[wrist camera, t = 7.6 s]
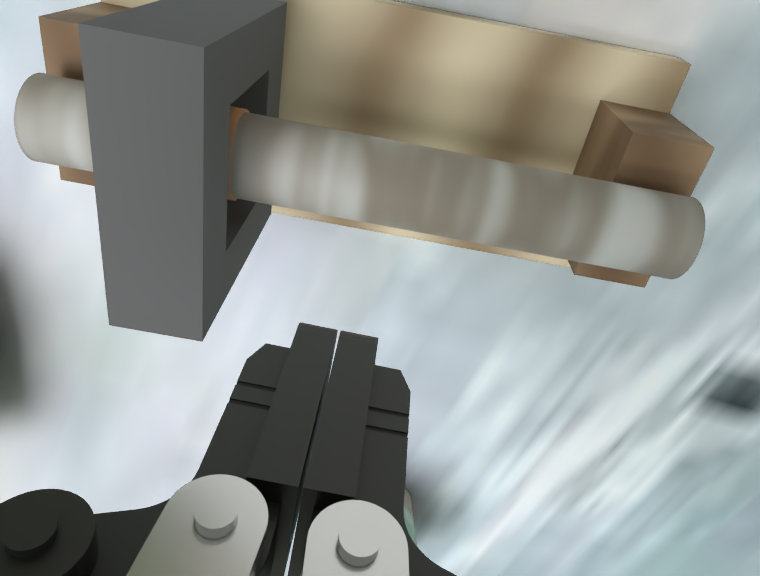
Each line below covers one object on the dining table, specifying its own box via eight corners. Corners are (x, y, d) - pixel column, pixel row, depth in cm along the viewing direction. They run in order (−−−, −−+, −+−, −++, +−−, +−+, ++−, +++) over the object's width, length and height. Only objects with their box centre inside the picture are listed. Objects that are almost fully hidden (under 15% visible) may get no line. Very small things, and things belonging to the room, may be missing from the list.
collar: (287, 2, 22) (203, 47, 14) (271, 213, 27) (202, 341, 18) (209, -14, 22) (78, 23, 14) (207, 201, 27) (109, 325, 18)
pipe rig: (677, 57, 24) (792, 117, 17) (591, 258, 30) (649, 373, 22) (114, -56, 24) (-36, -47, 16) (129, 172, 29) (22, 261, 21)
